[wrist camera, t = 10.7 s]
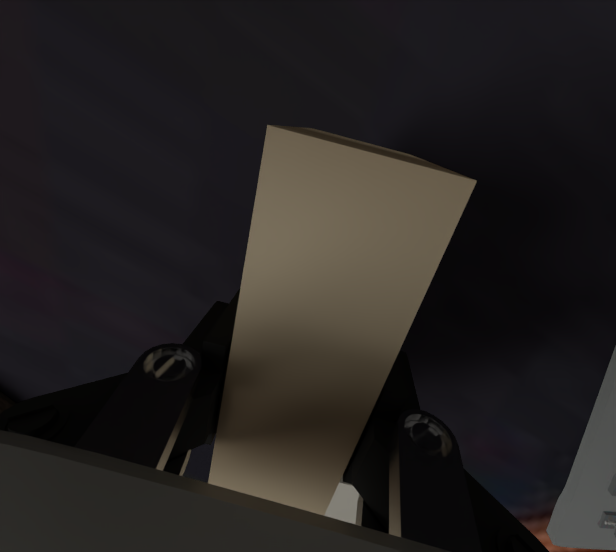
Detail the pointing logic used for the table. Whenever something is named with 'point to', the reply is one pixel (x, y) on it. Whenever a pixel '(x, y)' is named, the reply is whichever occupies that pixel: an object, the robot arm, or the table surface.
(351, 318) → the tan wooden block
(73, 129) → the table surface
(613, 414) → the office telephone
